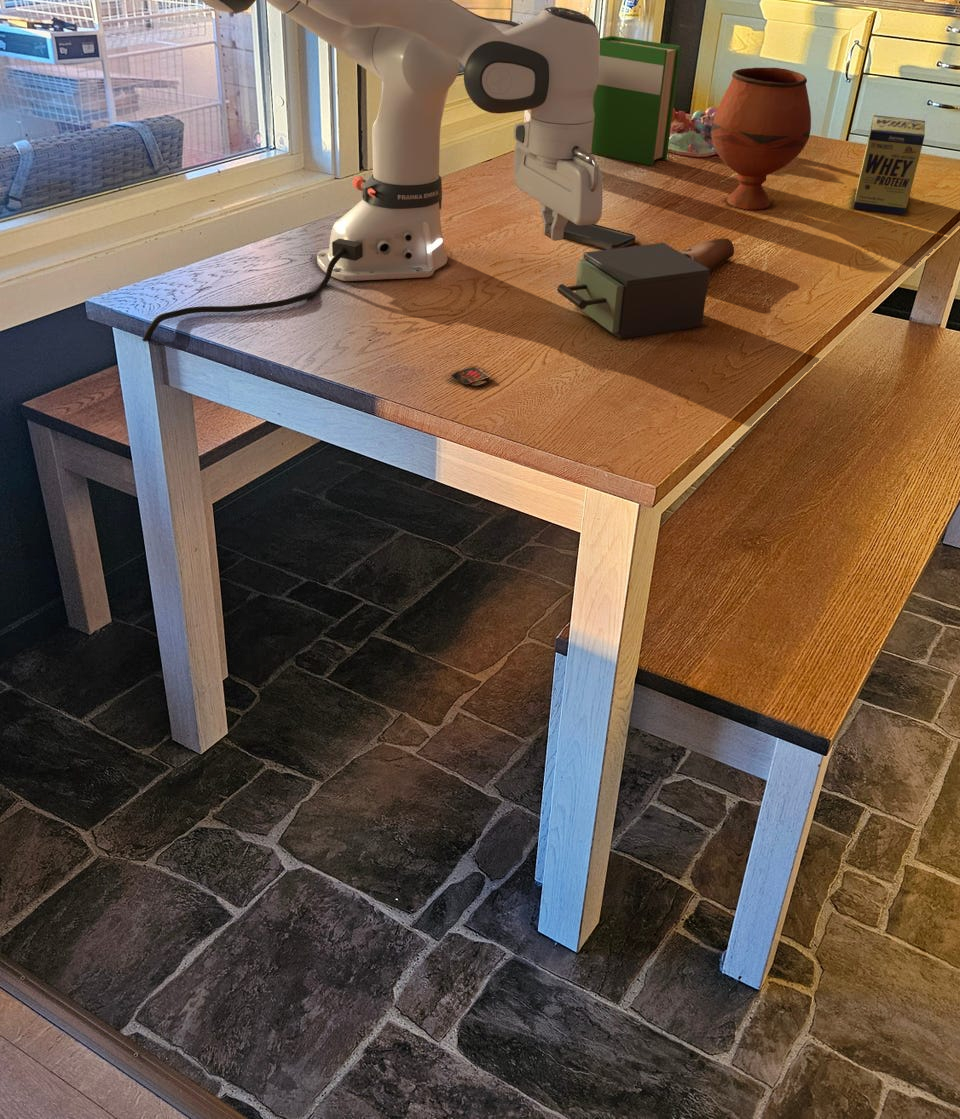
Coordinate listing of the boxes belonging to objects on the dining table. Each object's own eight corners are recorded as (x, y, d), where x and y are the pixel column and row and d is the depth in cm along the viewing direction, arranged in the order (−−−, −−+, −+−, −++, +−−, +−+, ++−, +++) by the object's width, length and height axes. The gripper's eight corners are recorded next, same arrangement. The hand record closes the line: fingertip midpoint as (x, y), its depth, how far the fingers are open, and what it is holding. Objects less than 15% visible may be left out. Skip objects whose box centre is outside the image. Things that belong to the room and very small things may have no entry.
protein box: (852, 209, 223) (870, 130, 214) (856, 189, 235) (873, 114, 227) (905, 216, 221) (925, 136, 212) (906, 195, 233) (925, 119, 224)
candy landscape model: (703, 129, 277) (709, 90, 271) (777, 149, 262) (785, 109, 257) (635, 142, 263) (640, 101, 258) (710, 164, 249) (716, 122, 243)
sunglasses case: (689, 248, 198) (711, 220, 193) (717, 274, 197) (740, 246, 193) (649, 276, 185) (672, 247, 180) (679, 304, 184) (703, 276, 180)
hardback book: (666, 159, 251) (681, 46, 237) (651, 165, 246) (665, 50, 232) (600, 145, 259) (611, 35, 246) (584, 151, 254) (594, 39, 240)
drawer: (584, 337, 161) (589, 290, 157) (547, 308, 170) (551, 263, 166) (687, 321, 168) (694, 275, 164) (647, 294, 177) (652, 250, 172)
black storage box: (620, 339, 163) (627, 280, 158) (578, 308, 173) (583, 252, 168) (701, 326, 169) (710, 269, 163) (656, 297, 178) (663, 242, 173)
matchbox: (447, 378, 150) (447, 375, 149) (471, 367, 153) (471, 363, 153) (473, 388, 147) (473, 385, 147) (497, 376, 151) (497, 373, 150)
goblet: (697, 212, 218) (717, 78, 204) (704, 186, 233) (723, 60, 219) (795, 222, 214) (821, 87, 200) (795, 195, 230) (820, 68, 216)
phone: (571, 217, 208) (638, 235, 200) (571, 223, 208) (637, 241, 201) (547, 227, 203) (614, 245, 195) (546, 233, 203) (614, 251, 196)
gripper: (618, 156, 144) (607, 258, 152) (546, 120, 159) (539, 215, 167) (577, 159, 142) (568, 263, 150) (508, 123, 157) (503, 219, 165)
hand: (552, 237), depth 159 cm, fingers closed
